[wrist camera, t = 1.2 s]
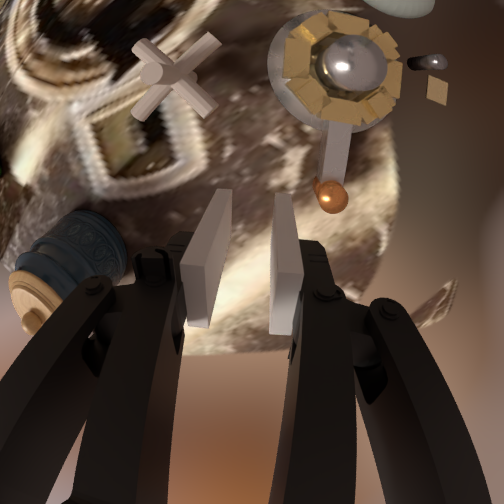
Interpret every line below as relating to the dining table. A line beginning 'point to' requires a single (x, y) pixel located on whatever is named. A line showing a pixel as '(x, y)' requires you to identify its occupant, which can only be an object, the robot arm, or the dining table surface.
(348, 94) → the gold and silver mechanism
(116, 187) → the dining table surface
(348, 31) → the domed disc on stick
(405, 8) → the air freshener
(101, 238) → the canister
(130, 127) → the dining table surface
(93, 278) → the robot arm
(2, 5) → the coffee can
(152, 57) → the pipe connector
